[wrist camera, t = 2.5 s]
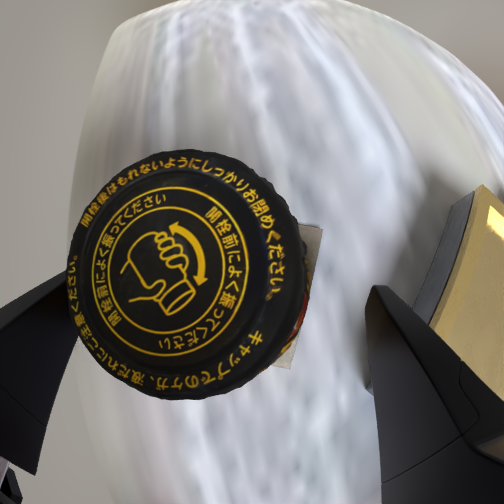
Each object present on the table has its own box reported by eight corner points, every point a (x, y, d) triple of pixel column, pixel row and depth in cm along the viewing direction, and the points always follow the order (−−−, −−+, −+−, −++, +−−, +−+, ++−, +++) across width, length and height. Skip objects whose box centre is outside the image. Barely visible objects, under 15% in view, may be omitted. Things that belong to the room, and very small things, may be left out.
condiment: (172, 336, 17) (17, 359, 5) (208, 205, 18) (124, 66, 6) (289, 368, 16) (318, 481, 4) (322, 230, 17) (391, 94, 5)
